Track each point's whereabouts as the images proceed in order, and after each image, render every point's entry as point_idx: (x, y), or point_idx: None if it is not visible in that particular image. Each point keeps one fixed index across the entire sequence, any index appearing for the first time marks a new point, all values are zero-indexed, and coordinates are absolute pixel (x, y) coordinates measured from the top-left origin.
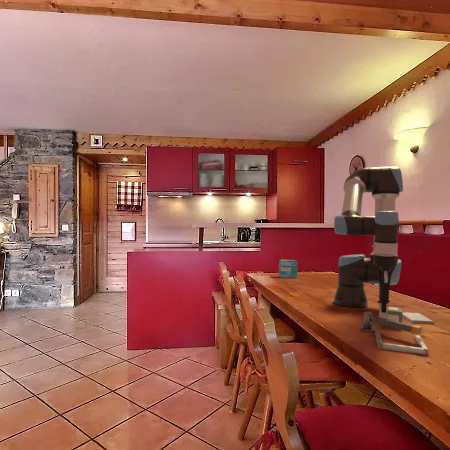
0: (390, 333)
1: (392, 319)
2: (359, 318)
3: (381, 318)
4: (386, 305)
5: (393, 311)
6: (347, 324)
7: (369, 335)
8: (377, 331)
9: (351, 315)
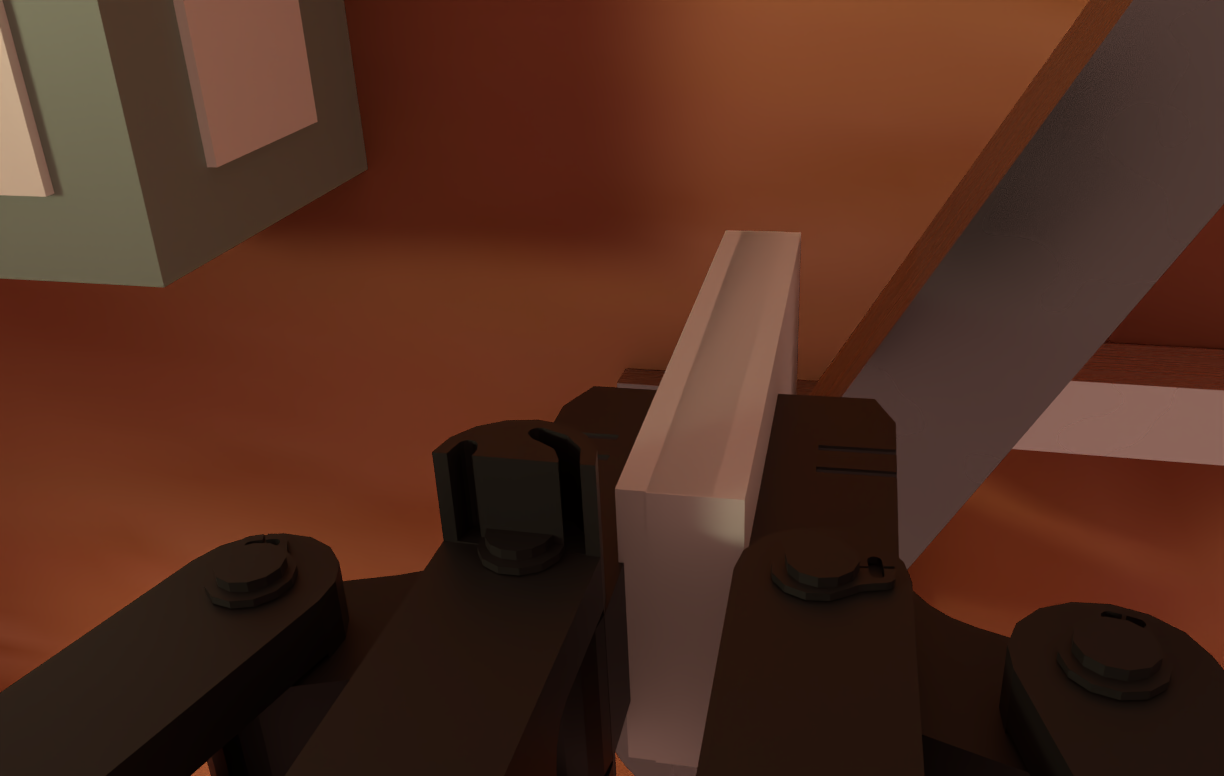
0: (888, 91)
1: (260, 27)
2: (141, 536)
3: (907, 429)
4: (759, 499)
5: (111, 40)
6: (616, 758)
7: (1199, 523)
8: (1216, 430)
9: (50, 626)
